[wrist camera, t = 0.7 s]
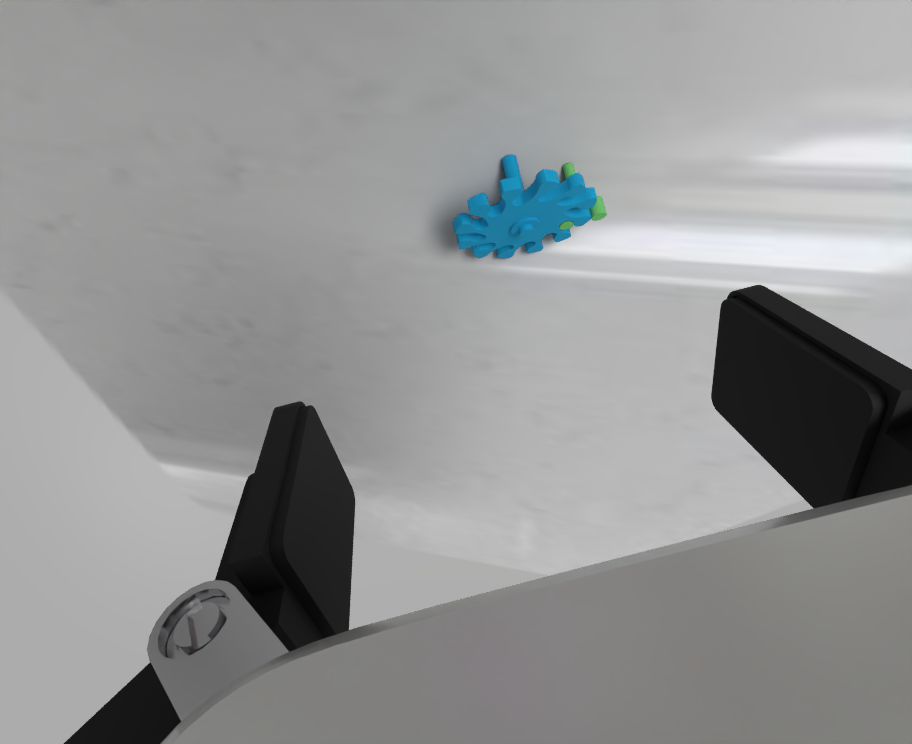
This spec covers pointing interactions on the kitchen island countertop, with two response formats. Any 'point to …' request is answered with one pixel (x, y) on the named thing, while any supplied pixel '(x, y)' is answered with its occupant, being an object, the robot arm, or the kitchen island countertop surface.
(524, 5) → the kitchen island countertop surface
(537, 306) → the kitchen island countertop surface
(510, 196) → the gear
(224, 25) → the kitchen island countertop surface
